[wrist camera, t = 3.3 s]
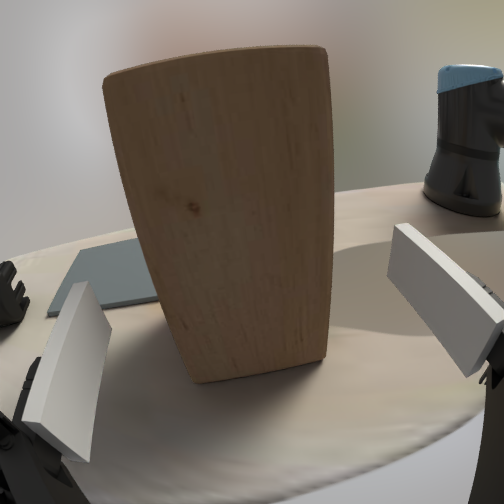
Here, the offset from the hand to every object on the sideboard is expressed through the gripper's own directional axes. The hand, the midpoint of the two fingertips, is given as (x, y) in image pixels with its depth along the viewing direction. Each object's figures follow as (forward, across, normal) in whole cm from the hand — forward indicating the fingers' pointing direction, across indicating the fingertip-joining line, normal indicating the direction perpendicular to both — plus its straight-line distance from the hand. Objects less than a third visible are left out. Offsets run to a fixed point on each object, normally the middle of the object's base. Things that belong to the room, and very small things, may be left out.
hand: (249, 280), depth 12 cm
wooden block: (+8, 0, -11) cm, 14 cm away
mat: (+21, -14, -11) cm, 27 cm away
